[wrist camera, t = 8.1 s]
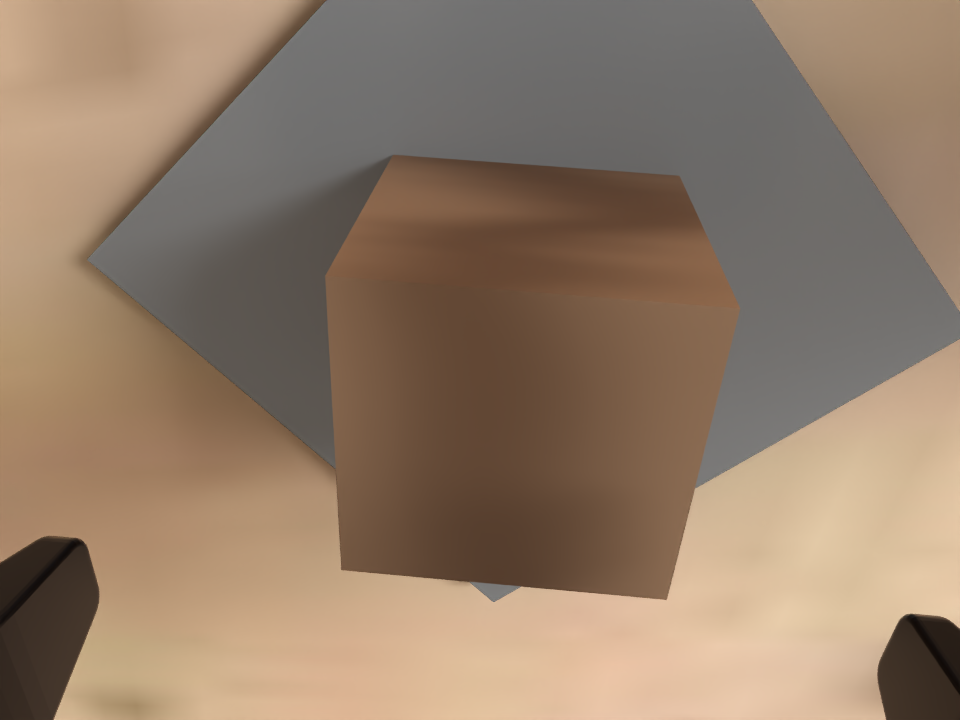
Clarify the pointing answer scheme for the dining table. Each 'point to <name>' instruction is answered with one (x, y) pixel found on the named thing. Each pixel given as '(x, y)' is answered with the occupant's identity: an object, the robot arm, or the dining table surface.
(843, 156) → the plate
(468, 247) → the walnut cube
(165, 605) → the dining table surface
